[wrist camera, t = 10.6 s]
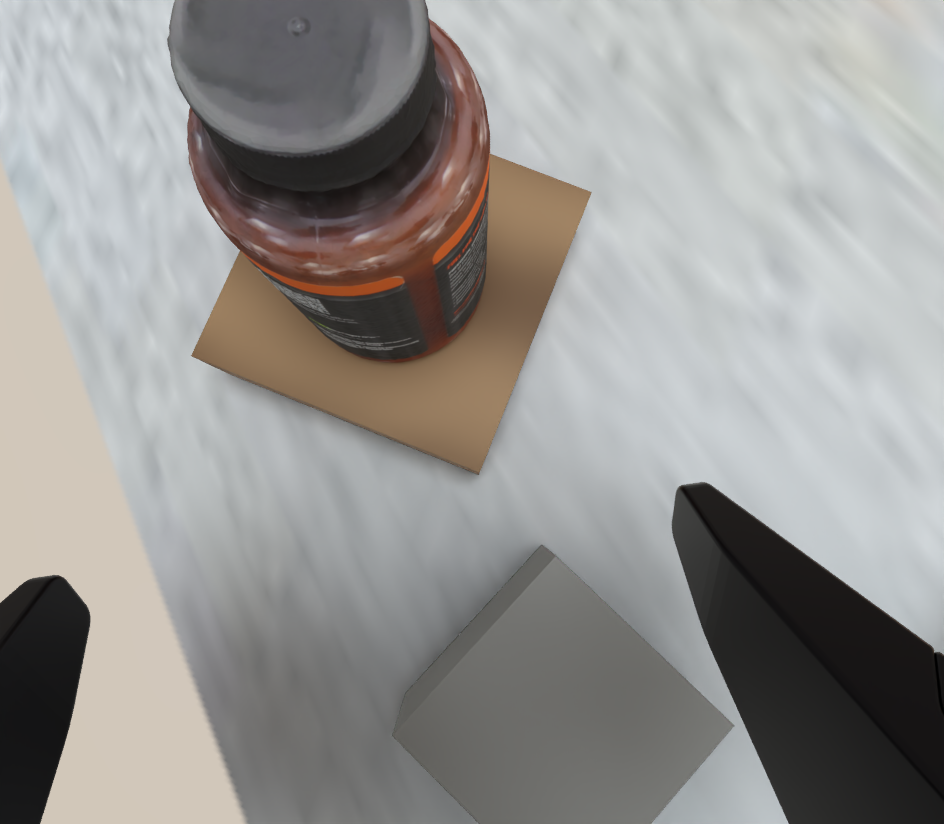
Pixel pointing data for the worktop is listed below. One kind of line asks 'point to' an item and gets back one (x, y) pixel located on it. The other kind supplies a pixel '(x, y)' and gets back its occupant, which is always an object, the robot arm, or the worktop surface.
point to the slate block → (556, 710)
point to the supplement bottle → (342, 161)
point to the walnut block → (433, 376)
